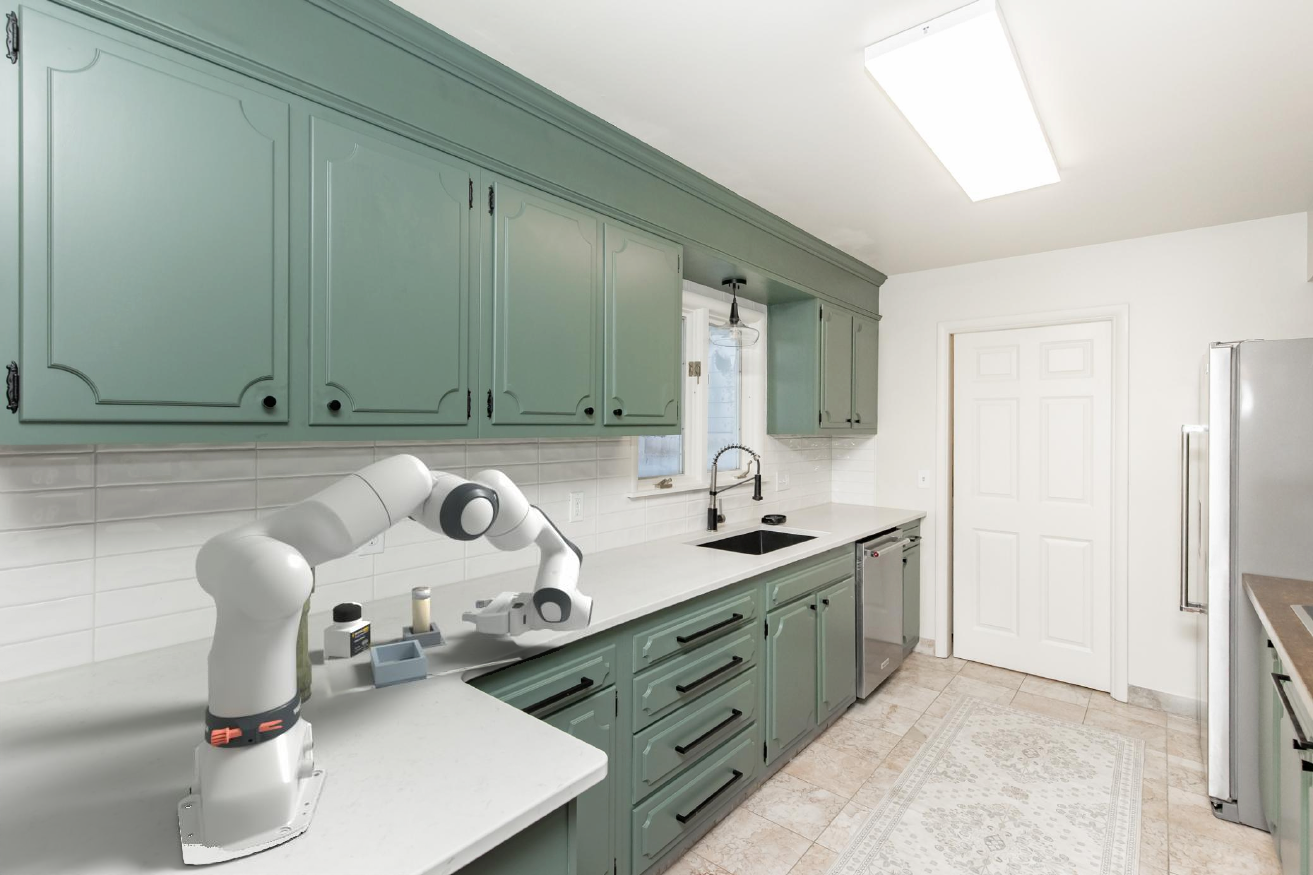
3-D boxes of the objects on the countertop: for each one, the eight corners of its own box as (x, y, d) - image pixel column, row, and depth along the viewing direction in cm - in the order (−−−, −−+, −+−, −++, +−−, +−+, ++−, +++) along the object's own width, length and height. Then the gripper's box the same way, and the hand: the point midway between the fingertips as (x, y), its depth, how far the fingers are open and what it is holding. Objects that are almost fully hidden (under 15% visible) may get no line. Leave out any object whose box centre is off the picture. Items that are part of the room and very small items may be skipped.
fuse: (431, 642, 150) (431, 590, 149) (413, 645, 148) (413, 592, 147) (428, 637, 153) (428, 585, 153) (411, 640, 151) (410, 587, 151)
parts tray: (426, 678, 132) (426, 657, 132) (375, 688, 127) (375, 667, 127) (417, 658, 143) (417, 639, 143) (370, 667, 138) (370, 647, 138)
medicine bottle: (350, 662, 140) (350, 610, 140) (323, 659, 142) (322, 608, 141) (371, 650, 147) (370, 601, 147) (345, 647, 149) (344, 598, 148)
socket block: (446, 648, 149) (446, 632, 149) (402, 656, 144) (402, 639, 144) (439, 635, 157) (438, 619, 157) (396, 642, 153) (396, 626, 152)
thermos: (240, 709, 118) (237, 528, 117) (296, 683, 129) (293, 518, 128) (274, 717, 115) (270, 531, 113) (327, 690, 126) (325, 521, 125)
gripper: (536, 586, 159) (483, 584, 160) (514, 612, 139) (454, 610, 140) (536, 610, 160) (483, 608, 160) (514, 639, 139) (454, 637, 140)
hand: (469, 609), depth 150 cm, fingers open, 8 cm apart
